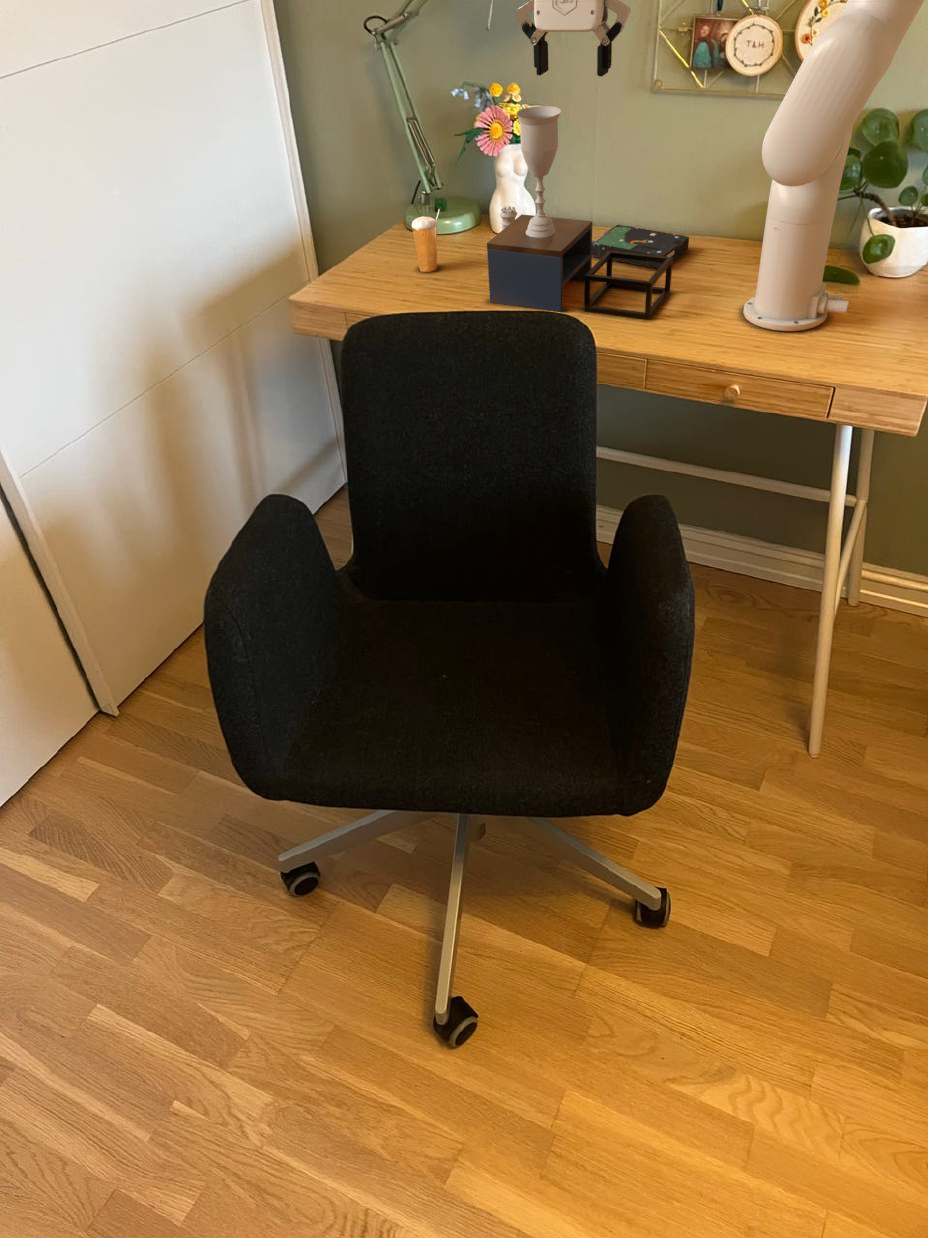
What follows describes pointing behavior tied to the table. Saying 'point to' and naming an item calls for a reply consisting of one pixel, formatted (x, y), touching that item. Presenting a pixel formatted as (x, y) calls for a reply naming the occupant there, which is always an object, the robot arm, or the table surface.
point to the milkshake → (426, 242)
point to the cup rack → (628, 284)
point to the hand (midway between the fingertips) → (572, 73)
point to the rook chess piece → (507, 216)
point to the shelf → (538, 263)
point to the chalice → (539, 157)
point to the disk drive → (640, 244)
